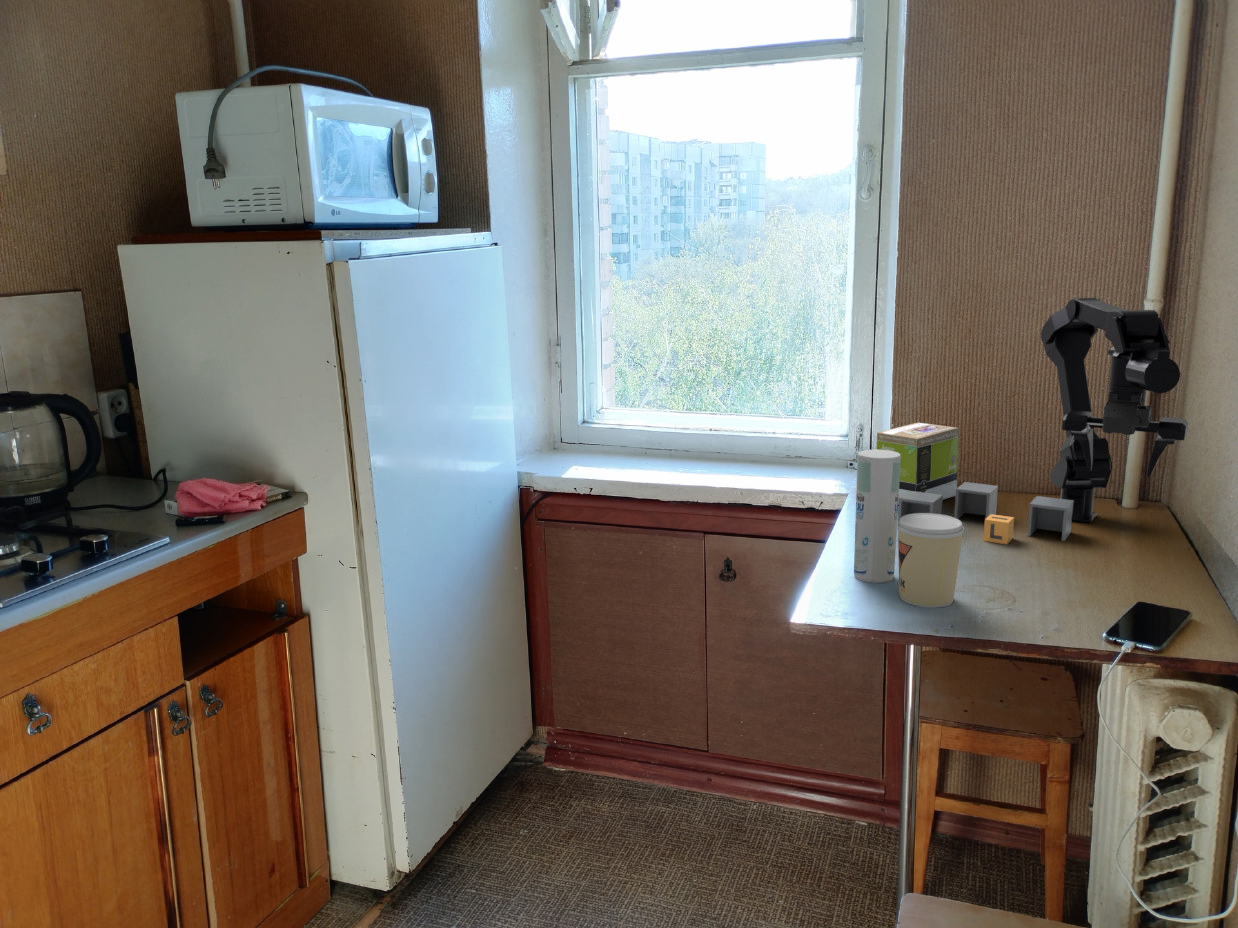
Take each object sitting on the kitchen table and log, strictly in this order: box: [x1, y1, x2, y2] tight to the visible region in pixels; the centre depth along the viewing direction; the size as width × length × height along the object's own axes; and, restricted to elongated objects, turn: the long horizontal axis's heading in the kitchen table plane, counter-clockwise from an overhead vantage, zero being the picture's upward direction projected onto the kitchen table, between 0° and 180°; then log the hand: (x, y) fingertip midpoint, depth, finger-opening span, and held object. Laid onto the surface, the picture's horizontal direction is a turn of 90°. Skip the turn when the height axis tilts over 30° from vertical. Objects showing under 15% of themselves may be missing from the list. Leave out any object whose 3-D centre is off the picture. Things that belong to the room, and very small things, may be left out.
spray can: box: [853, 449, 901, 584], centre depth 152 cm, size 6×6×20 cm
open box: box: [953, 481, 999, 520], centre depth 185 cm, size 6×6×6 cm
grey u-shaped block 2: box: [897, 491, 944, 530], centre depth 179 cm, size 6×6×6 cm
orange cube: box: [982, 514, 1015, 545], centre depth 171 cm, size 4×4×4 cm
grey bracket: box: [1026, 495, 1074, 542], centre depth 174 cm, size 6×6×6 cm
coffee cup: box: [897, 513, 965, 609], centre depth 143 cm, size 9×9×12 cm
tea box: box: [876, 422, 960, 505], centre depth 198 cm, size 15×10×15 cm, turn 130°
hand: (1118, 473), depth 168 cm, fingers open, 9 cm apart
